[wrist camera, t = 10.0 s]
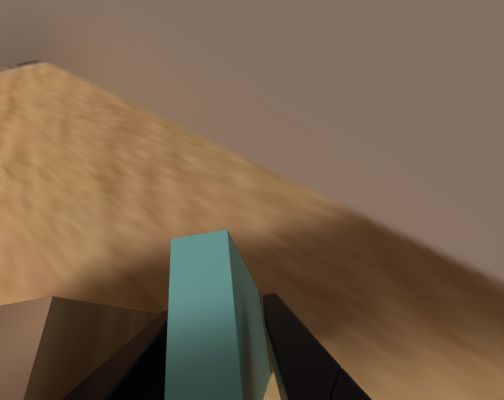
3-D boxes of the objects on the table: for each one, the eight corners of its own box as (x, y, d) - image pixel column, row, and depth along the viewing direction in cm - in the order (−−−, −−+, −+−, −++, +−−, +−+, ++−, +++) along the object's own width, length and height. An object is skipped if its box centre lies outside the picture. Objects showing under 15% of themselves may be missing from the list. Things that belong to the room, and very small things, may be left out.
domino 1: (191, 319, 15) (52, 296, 6) (191, 412, 12) (-28, 579, 4) (167, 323, 15) (-5, 306, 6) (162, 416, 13) (-115, 588, 4)
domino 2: (258, 290, 15) (227, 229, 7) (270, 374, 13) (247, 448, 4) (234, 294, 15) (171, 239, 7) (241, 379, 13) (161, 460, 4)
